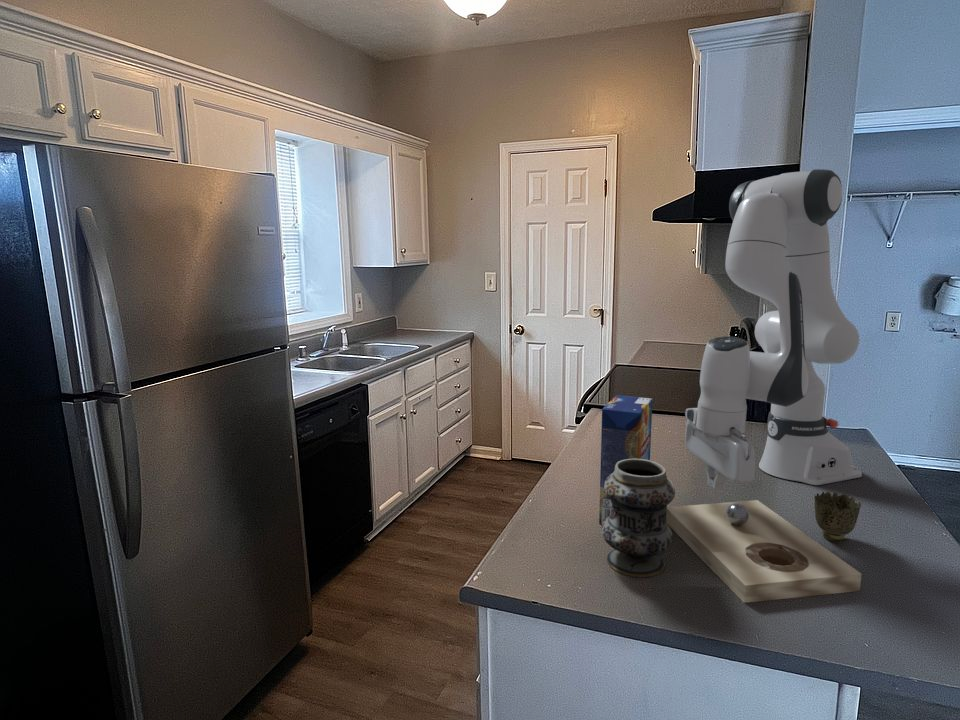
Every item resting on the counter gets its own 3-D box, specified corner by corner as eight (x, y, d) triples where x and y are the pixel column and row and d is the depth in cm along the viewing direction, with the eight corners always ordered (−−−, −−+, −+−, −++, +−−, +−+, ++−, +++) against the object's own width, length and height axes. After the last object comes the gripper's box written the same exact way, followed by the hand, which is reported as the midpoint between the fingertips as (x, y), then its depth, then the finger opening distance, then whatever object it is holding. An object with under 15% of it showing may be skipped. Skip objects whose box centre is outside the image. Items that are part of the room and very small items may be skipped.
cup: (803, 529, 115) (806, 491, 113) (841, 529, 114) (845, 490, 113) (823, 548, 107) (828, 508, 106) (865, 548, 107) (869, 507, 106)
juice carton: (636, 531, 115) (641, 413, 110) (599, 523, 118) (601, 409, 114) (648, 506, 125) (652, 398, 121) (613, 500, 129) (616, 394, 124)
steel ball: (740, 518, 113) (741, 499, 112) (752, 528, 109) (754, 508, 108) (721, 520, 113) (722, 500, 112) (732, 529, 109) (734, 509, 108)
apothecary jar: (685, 574, 100) (691, 475, 96) (622, 587, 96) (626, 484, 93) (646, 541, 111) (650, 451, 108) (588, 551, 108) (590, 458, 104)
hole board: (756, 513, 121) (757, 500, 121) (859, 590, 94) (861, 574, 94) (664, 521, 119) (665, 507, 118) (743, 602, 92) (745, 585, 91)
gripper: (767, 437, 104) (760, 509, 107) (709, 406, 124) (704, 468, 127) (734, 438, 104) (728, 511, 106) (681, 407, 124) (677, 469, 126)
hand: (714, 487), depth 117 cm, fingers closed
